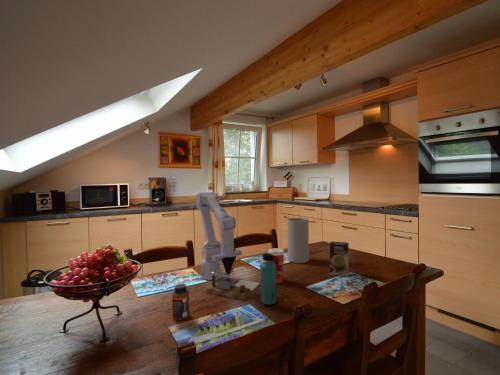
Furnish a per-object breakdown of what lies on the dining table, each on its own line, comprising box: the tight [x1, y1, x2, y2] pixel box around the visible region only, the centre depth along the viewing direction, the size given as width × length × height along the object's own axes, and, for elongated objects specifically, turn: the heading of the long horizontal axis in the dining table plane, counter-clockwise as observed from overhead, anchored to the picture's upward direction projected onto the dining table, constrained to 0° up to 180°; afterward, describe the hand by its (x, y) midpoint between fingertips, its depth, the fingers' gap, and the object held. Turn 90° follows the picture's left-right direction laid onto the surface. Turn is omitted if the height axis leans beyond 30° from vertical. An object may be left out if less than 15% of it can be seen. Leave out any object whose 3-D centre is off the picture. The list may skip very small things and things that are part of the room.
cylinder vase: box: [286, 217, 310, 264], centre depth 157 cm, size 12×12×25 cm
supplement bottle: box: [171, 283, 191, 321], centre depth 94 cm, size 6×6×11 cm
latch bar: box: [211, 271, 231, 278], centre depth 115 cm, size 9×2×1 cm, turn 65°
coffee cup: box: [267, 247, 285, 284], centre depth 126 cm, size 8×8×15 cm
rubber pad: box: [235, 279, 261, 292], centre depth 121 cm, size 10×9×1 cm
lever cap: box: [217, 277, 236, 291], centre depth 113 cm, size 6×4×4 cm
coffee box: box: [329, 241, 350, 278], centre depth 133 cm, size 9×6×16 cm
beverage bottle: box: [259, 252, 278, 305], centre depth 102 cm, size 6×7×20 cm
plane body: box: [206, 276, 251, 301], centre depth 113 cm, size 18×7×7 cm, turn 65°
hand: (228, 273), depth 118 cm, fingers closed
